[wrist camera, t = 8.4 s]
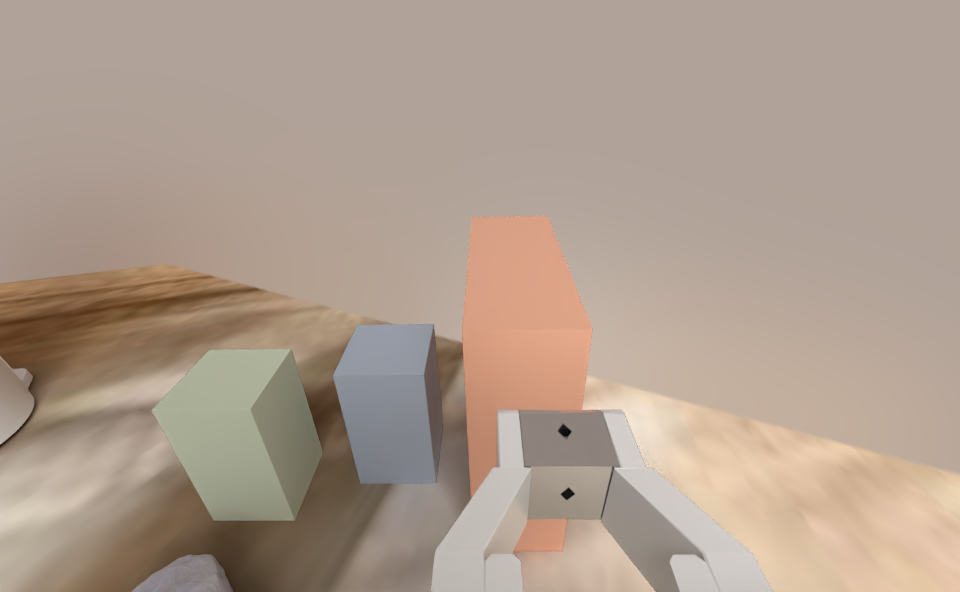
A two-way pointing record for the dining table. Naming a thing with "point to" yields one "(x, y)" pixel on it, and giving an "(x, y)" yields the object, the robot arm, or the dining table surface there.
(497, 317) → the terracotta block
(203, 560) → the stone block
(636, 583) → the dining table surface
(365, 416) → the slate-blue block
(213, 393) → the sage-green block
